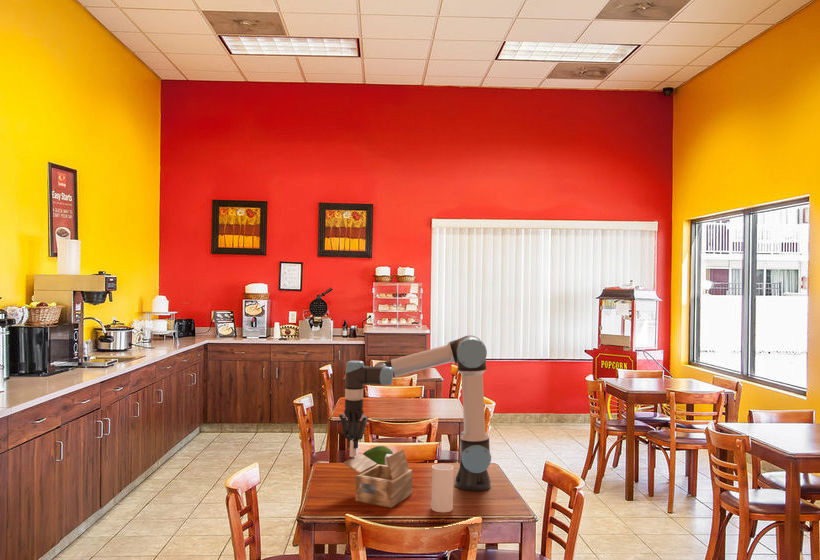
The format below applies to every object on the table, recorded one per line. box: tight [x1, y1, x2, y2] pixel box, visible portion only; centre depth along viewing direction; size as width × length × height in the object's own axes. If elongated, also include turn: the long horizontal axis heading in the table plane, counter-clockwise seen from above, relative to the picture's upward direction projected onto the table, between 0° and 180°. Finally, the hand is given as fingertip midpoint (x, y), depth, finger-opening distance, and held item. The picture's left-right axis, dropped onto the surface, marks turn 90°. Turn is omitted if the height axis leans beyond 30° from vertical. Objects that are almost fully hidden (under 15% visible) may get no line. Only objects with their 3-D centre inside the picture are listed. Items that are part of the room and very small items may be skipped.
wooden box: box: [355, 464, 413, 509], centre depth 249 cm, size 16×19×10 cm
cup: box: [430, 463, 455, 513], centre depth 238 cm, size 8×8×16 cm
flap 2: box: [386, 449, 410, 478], centre depth 247 cm, size 1×14×8 cm, turn 155°
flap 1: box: [343, 453, 377, 474], centre depth 254 cm, size 1×14×8 cm
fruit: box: [362, 445, 394, 465], centre depth 290 cm, size 15×10×10 cm, turn 91°
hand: (352, 456), depth 256 cm, fingers closed
